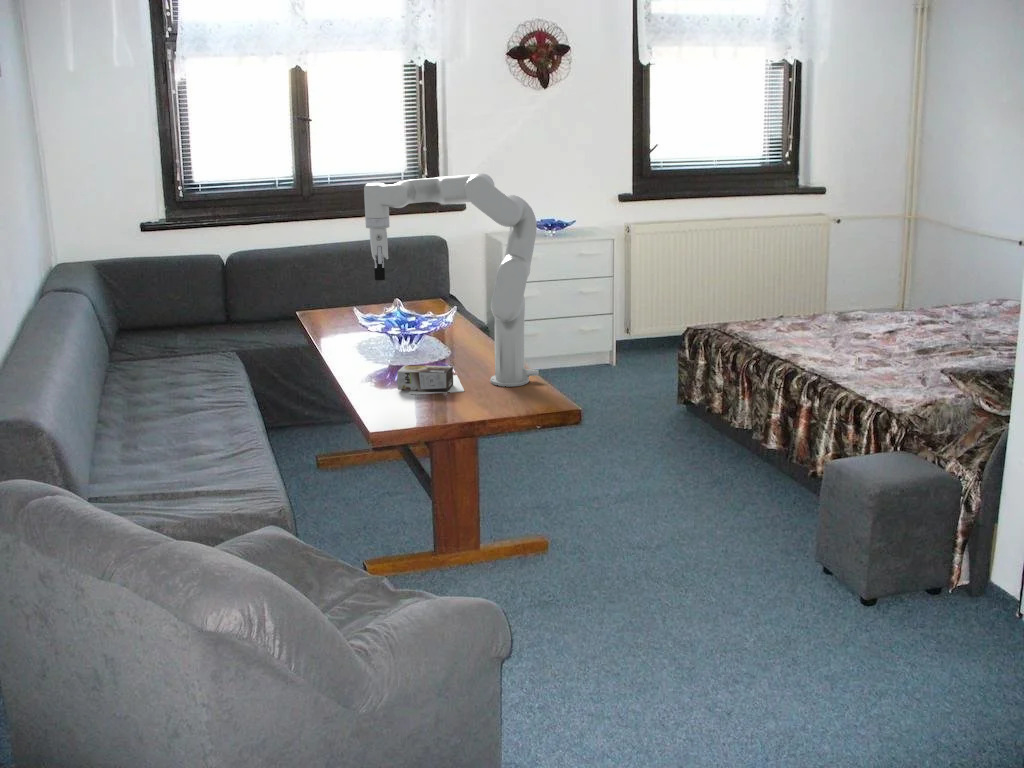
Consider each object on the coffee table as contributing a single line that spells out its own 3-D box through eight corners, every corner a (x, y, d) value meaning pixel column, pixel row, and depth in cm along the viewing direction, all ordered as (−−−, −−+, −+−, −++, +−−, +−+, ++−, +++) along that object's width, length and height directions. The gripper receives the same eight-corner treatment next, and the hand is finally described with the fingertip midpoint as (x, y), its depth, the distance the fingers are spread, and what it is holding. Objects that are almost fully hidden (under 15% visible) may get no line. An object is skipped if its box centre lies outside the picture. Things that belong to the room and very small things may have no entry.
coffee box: (397, 390, 350) (446, 392, 347) (396, 370, 349) (446, 373, 346) (405, 383, 359) (453, 385, 356) (404, 364, 357) (453, 366, 354)
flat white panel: (456, 376, 367) (456, 375, 367) (464, 391, 350) (464, 390, 350) (405, 379, 365) (405, 377, 364) (410, 394, 348) (410, 393, 348)
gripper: (391, 225, 344) (393, 283, 350) (387, 219, 358) (389, 275, 364) (366, 226, 343) (369, 284, 348) (364, 219, 357) (366, 275, 362)
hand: (379, 279), depth 356 cm, fingers closed
